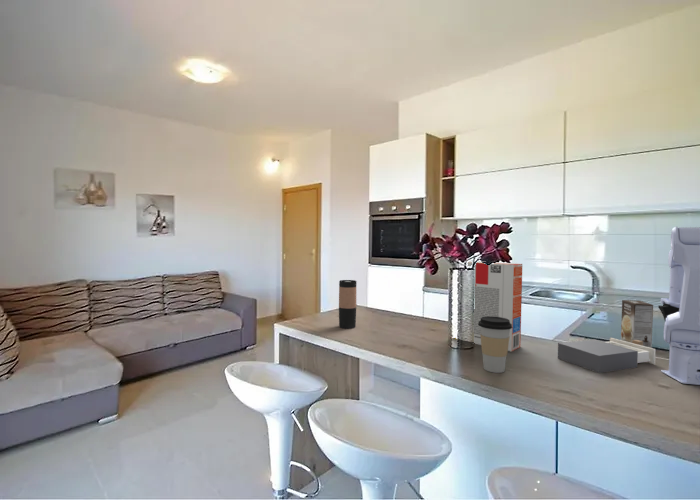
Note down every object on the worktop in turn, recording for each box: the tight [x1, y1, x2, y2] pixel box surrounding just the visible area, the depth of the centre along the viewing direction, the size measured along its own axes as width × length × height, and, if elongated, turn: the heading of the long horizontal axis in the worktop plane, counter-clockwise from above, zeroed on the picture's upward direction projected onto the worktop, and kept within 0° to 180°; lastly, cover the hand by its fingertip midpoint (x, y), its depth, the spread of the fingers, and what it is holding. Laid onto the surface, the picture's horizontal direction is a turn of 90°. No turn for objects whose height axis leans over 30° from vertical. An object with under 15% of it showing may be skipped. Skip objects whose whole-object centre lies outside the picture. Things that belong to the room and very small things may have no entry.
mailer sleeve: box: [557, 338, 638, 374], centre depth 117 cm, size 16×14×5 cm
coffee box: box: [620, 299, 654, 348], centre depth 137 cm, size 9×6×16 cm
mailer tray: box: [605, 337, 656, 365], centre depth 120 cm, size 20×14×5 cm
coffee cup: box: [478, 316, 512, 374], centre depth 109 cm, size 9×9×15 cm
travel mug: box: [338, 279, 358, 330], centre depth 161 cm, size 8×8×20 cm
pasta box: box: [468, 260, 523, 352], centre depth 138 cm, size 23×8×30 cm, turn 46°
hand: (679, 331), depth 116 cm, fingers open, 7 cm apart
